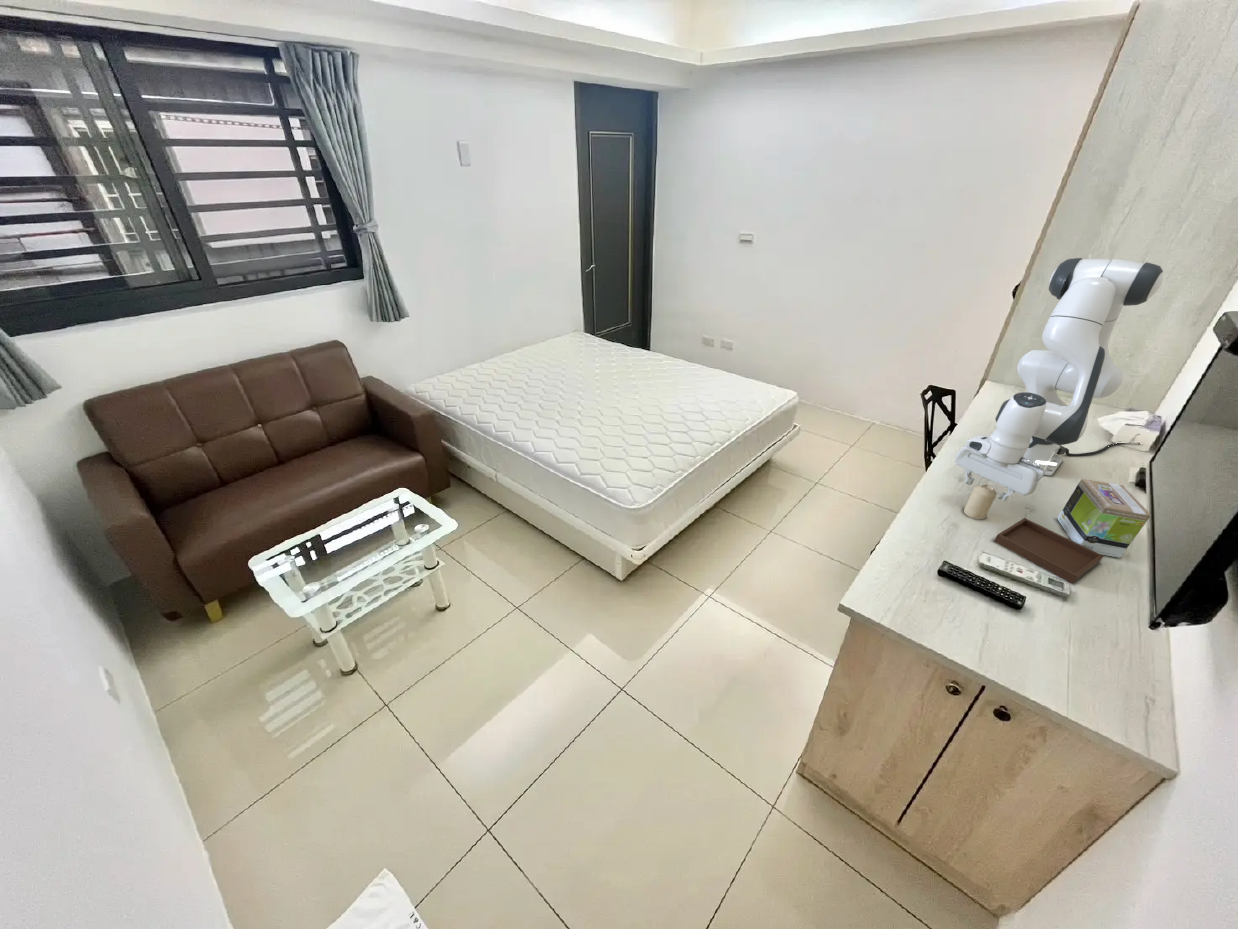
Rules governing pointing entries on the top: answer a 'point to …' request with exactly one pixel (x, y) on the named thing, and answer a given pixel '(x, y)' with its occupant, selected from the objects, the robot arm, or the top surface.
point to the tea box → (1103, 517)
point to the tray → (1048, 550)
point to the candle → (980, 501)
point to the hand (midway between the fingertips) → (984, 491)
